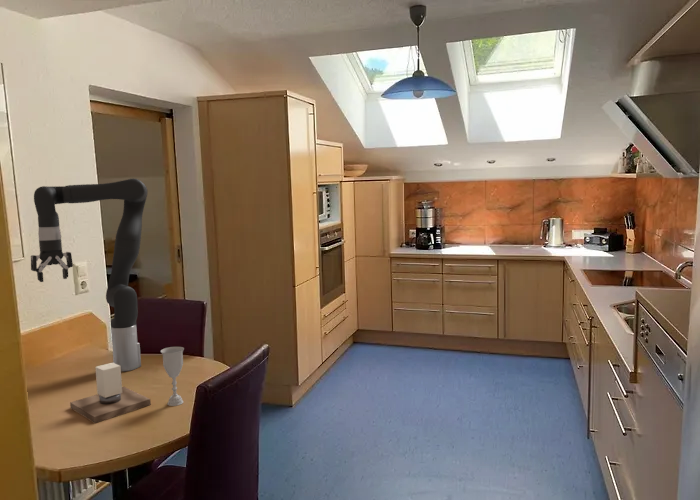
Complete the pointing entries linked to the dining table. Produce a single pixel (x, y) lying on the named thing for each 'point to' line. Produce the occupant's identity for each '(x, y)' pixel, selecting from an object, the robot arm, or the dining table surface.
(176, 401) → the chalice
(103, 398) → the dark grey cylinder
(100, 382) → the cream rectangular block
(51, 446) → the dining table surface
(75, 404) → the walnut block
